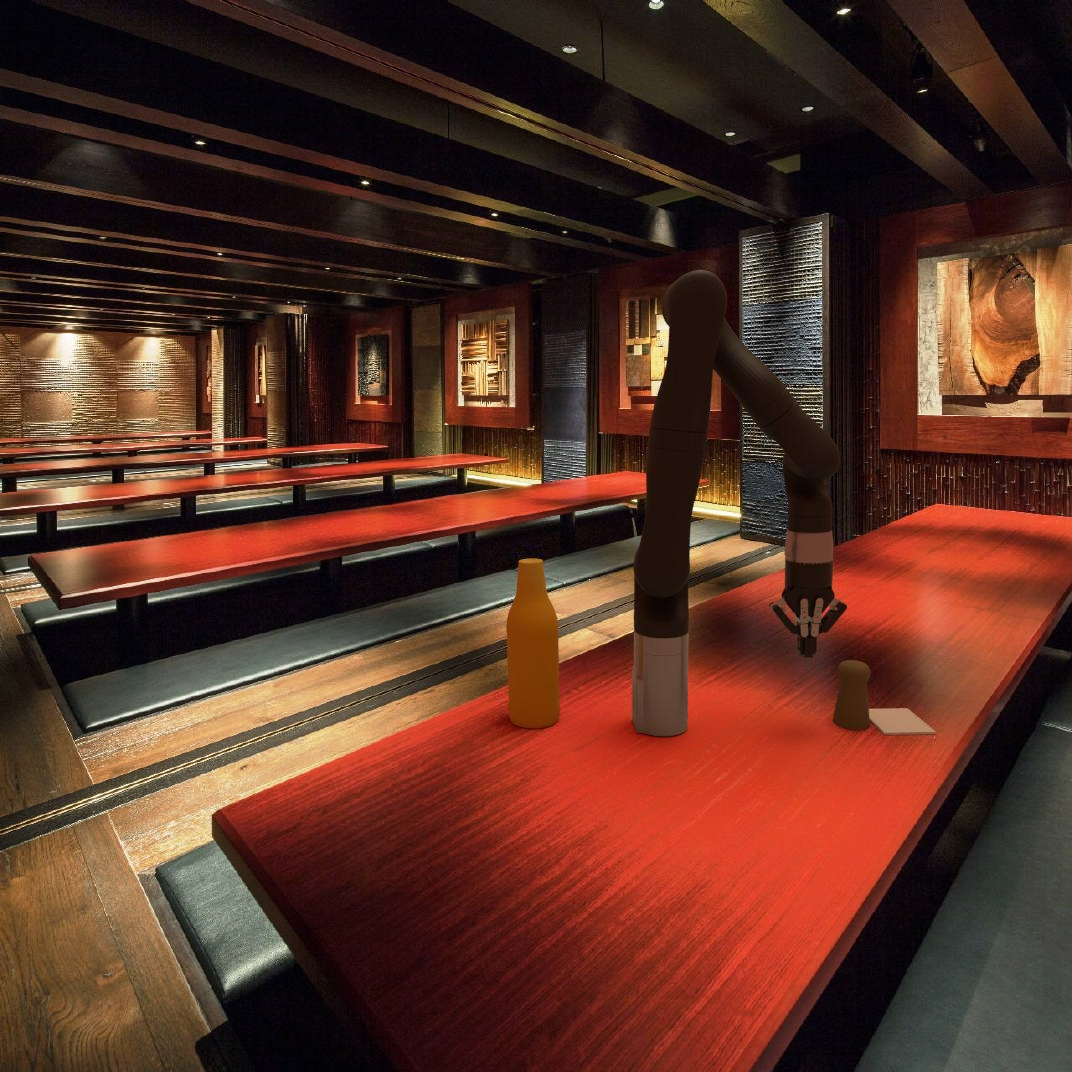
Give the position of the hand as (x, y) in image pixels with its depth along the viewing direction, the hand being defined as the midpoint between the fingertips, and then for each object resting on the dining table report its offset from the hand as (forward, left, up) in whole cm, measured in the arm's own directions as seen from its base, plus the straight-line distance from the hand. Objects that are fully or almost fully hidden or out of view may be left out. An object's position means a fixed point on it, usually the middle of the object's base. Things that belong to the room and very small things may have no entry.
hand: (806, 656), depth 128 cm
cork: (+8, 0, -13) cm, 15 cm away
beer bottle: (-47, +4, -13) cm, 49 cm away
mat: (+16, 0, -12) cm, 20 cm away
